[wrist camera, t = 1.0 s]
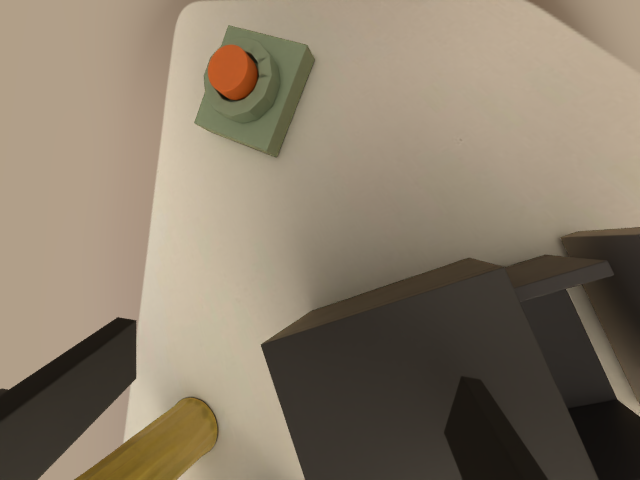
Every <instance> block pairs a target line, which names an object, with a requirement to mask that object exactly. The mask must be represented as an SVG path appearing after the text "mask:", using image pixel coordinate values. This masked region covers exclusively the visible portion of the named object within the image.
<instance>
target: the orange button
mask: <svg viewBox="0 0 640 480" xmlns="http://www.w3.org/2000/svg"><path fill="white" fill-rule="evenodd" d="M208 78H209V81H210V83H211V85H212V86H213V87H214V88H215V89H216V90H217V91H219V92H220V93H221V94H223V95H224V96H225V97H227V98H228V99H231V100H241V99H243V98H245V97H247V96H248V95H249V94H250V93H251V92H252V90H253V89H254V87H255V85H256V82H257V78H258V72H257V67H256V65H255V63H254V61H253V60H252V59H251V58H250V57H249V56H248V55H247V54H246V52H245V51H244V50H243V49H242V48H241V47H239V46H237V45H225V46H223V47H221V48H220V49H218V50H217V51H216V52H215V54H214V55H213V56H212V58H211V60H210V62H209V66H208Z"/></svg>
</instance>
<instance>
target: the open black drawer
mask: <svg viewBox="0 0 640 480" xmlns="http://www.w3.org/2000/svg"><path fill="white" fill-rule="evenodd" d="M561 240H562V242H563V244H564V246H565V248H566V251H567V253H568V255H569V257H563V256H552V255H542V256H539V257H536V258H533V259H530V260H527V261H524V262H520V263H517V264H514V265H511V266H508V267H505V269H506V272H507V274H508V276H509V278H510V281H511V283H512V285H513V287H514V290H515V292H516V294H517V296H518V299H519V301H520V303H521V305H522V308H523V310H524V312H525V314H526V317H527V319H528V321H529V323H530V326H531V328H532V330H533V332H534V335H535V337H536V339H537V341H538V344H539V346H540V348H541V350H542V353H543V355H544V357H545V359H546V362H547V364H548V366H549V368H550V371H551V373H552V375H553V377H554V380H555V382H556V384H557V386H558V389H559V391H560V393H561V395H562V398H563V400H564V402H565V404H566V407H567V409H568V411H569V413H570V416H571V418H572V420H573V422H574V425H575V427H576V429H577V431H578V434H579V436H580V438H581V440H582V443H583V445H584V447H585V449H586V452H587V454H588V456H589V458H590V461H591V463H592V465H593V467H594V470H595V472H596V474H597V477H598V479H599V480H640V417H639V416H638V415H637V414H635V413H634V412H633V411H631V410H630V409H629V408H628V407H626V406H625V405H624V404H622V403H621V402H620V401H618V400H617V398H616V396H615V394H614V391H613V389H612V387H611V385H610V383H609V381H608V378H607V376H606V374H605V372H604V370H603V368H602V366H601V363H600V361H599V359H598V357H597V355H596V353H595V351H594V348H593V346H592V344H591V342H590V340H589V338H588V336H587V333H586V331H585V329H584V327H583V325H582V323H581V320H580V318H579V316H578V314H577V312H576V310H575V308H574V305H573V303H572V301H571V299H570V297H569V295H568V293H567V290H566V289H567V288H571V287H575V286H578V285H582V284H583V287H584V289H585V291H586V293H587V295H588V297H589V299H590V301H591V303H592V306H593V308H594V310H595V312H596V314H597V316H598V318H599V320H600V322H601V325H602V327H603V329H604V331H605V333H606V335H607V337H608V339H609V341H610V344H611V346H612V348H613V350H614V352H615V354H616V356H617V358H618V360H619V363H620V365H621V367H622V369H623V371H624V373H625V375H626V377H627V379H628V382H629V384H630V386H631V388H632V390H633V392H634V394H635V396H636V398H637V401H638V403H639V405H640V227H635V228H621V229H606V230H592V231H578V232H575V233H572V234H569V235H565V236H562V237H561Z"/></svg>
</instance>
